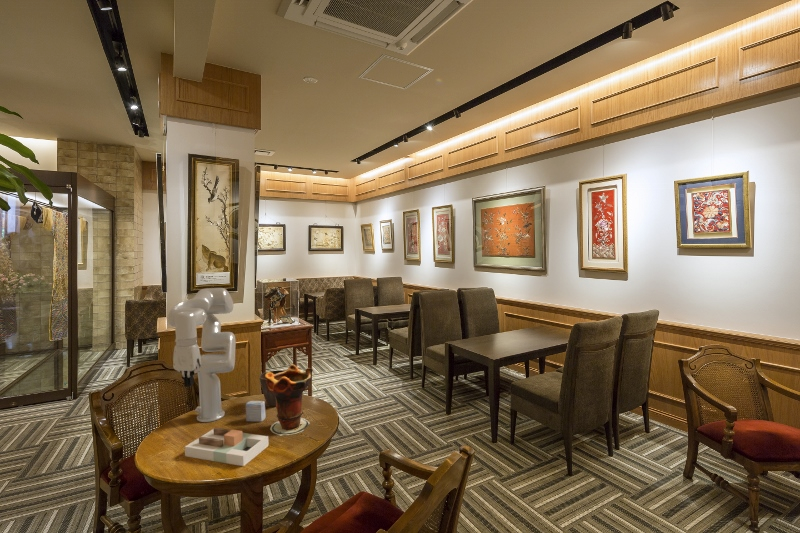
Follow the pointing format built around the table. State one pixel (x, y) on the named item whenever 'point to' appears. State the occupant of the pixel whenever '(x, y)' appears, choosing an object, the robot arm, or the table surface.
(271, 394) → the plant pot
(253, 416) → the medicine box
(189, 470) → the table surface
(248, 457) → the deck
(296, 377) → the decorative vase
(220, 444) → the channel walls
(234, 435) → the block
